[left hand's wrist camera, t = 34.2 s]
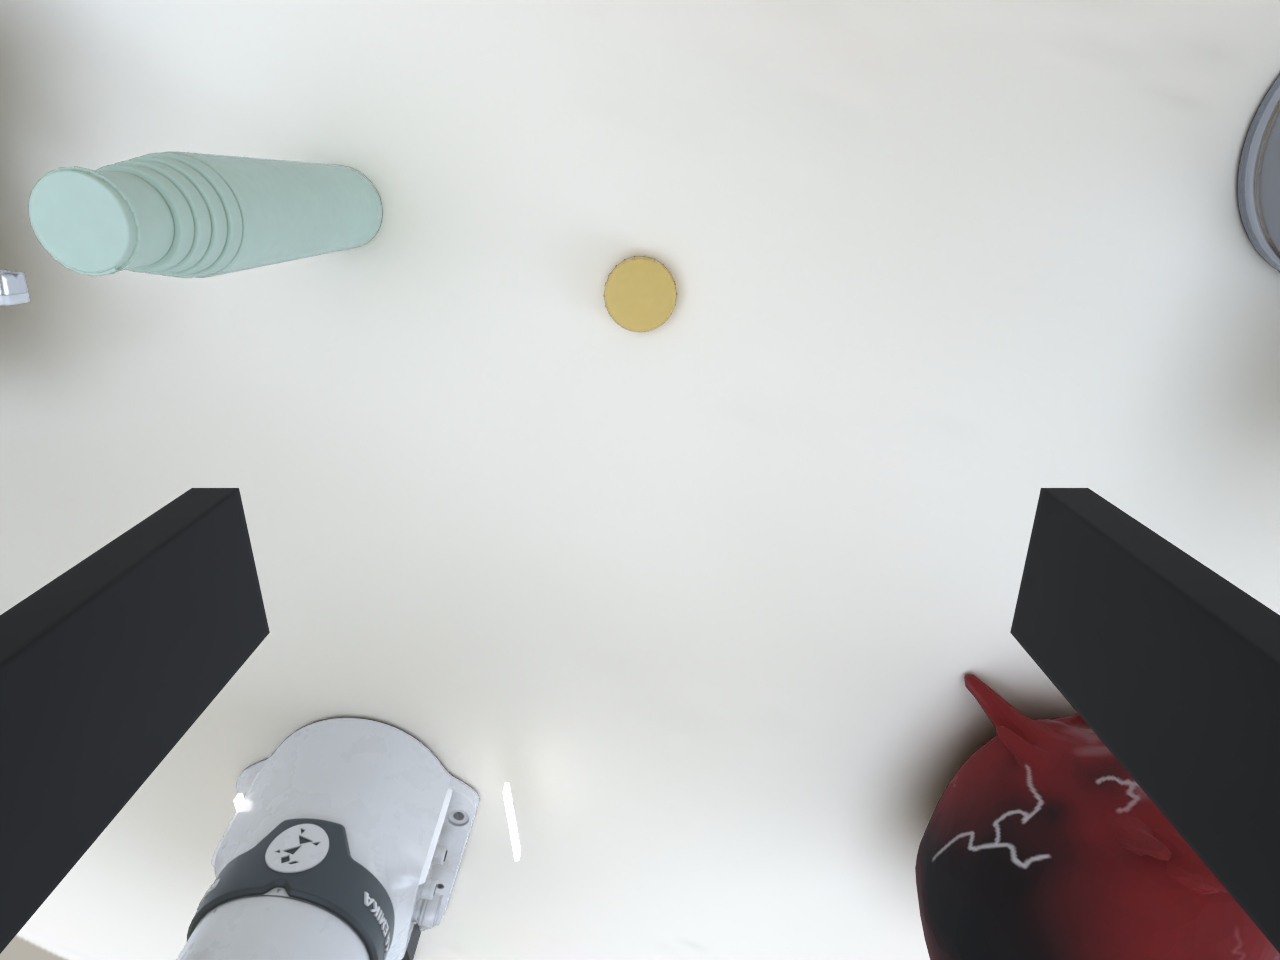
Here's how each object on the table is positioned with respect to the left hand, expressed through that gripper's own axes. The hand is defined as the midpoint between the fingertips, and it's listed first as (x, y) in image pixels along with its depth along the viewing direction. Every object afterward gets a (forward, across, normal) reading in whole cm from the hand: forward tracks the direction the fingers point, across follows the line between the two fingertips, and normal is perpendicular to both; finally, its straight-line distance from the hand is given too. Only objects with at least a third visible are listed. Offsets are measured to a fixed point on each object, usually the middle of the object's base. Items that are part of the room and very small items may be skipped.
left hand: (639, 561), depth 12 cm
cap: (+34, 0, 0) cm, 34 cm away
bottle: (+35, +17, -5) cm, 40 cm away
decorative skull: (+35, -33, +39) cm, 62 cm away
